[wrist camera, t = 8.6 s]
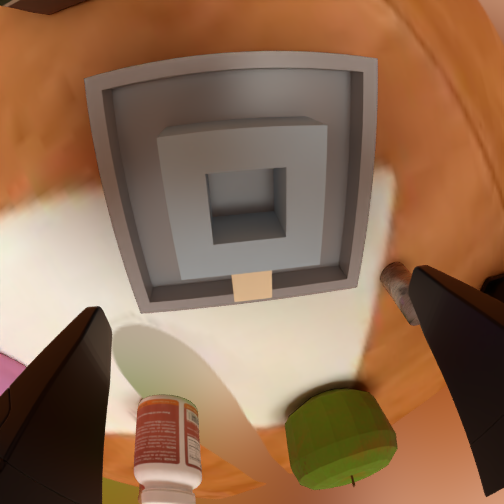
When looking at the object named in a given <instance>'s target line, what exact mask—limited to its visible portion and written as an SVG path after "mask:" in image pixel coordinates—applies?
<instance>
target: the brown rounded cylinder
mask: <svg viewBox="0 0 504 504" xmlns="http://www.w3.org/2000/svg"><path fill="white" fill-rule="evenodd" d="M411 277H412V274H411V273H410V272H409V271H408V270H407V268H406V267H405V266H404V265H403V264H402V263H400V262H395V263H392V264H390V265H389V266H387V267H386V268H385V269H384V271H383V272H382V274H381V278H380V280H381V283H382V284H383V286H384V287H385V289H386V290H387V291H388V293H389V294H390V296H391V297H392V299H393V300H394V302H395V303H396V304H397V306H398V307H399V309H400V310H401V312H402V313H403V315H404V316H405V318H406V319H407V321H408V322H409V324H410V325H413V326H415V325H419V324H420V323H419V320H418V318H417V315H416V313H415V310H414V308H413V305H412V303H411V300H410V298H409V295H408V287H409V283H410V280H411Z"/></svg>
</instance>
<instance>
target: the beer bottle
mask: <svg viewBox="0 0 504 504" xmlns="http://www.w3.org/2000/svg"><path fill="white" fill-rule="evenodd" d="M83 1H86V0H0V6H5V7H10V8H15V9H20V10H24V11H29V12H33V13H40V14H47V15H50V14H52V13H54V12H57V11H59V10H62V9H64V8H67V7H69V6H72V5H75V4H77V3H80V2H83Z"/></svg>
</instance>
